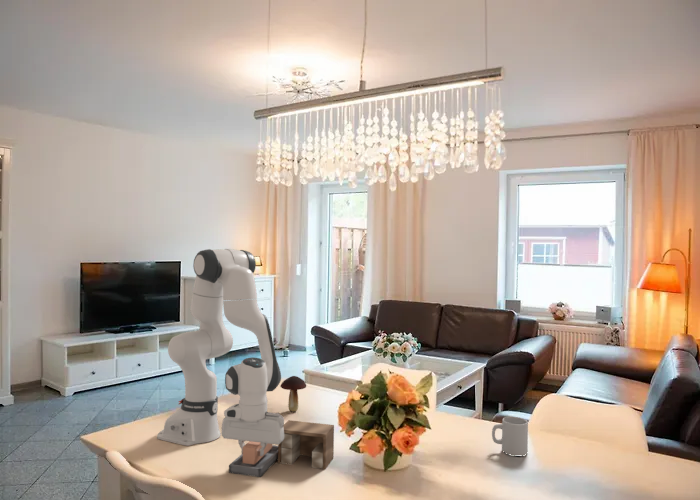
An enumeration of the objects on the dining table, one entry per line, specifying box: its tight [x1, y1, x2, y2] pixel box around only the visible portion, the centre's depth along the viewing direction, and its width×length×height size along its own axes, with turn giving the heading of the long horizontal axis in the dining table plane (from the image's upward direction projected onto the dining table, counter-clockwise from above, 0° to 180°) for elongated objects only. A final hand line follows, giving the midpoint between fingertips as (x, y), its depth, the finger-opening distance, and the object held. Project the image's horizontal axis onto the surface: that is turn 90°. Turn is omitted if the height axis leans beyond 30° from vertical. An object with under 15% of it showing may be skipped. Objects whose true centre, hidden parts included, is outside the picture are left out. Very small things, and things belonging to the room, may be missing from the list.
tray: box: [228, 444, 278, 478], centre depth 165 cm, size 11×19×2 cm, turn 166°
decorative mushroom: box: [280, 375, 307, 413], centre depth 218 cm, size 11×11×15 cm
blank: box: [243, 441, 273, 464], centre depth 166 cm, size 4×14×5 cm, turn 166°
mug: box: [491, 416, 529, 455], centre depth 178 cm, size 12×8×11 cm
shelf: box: [277, 419, 335, 470], centre depth 168 cm, size 16×9×11 cm, turn 76°
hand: (252, 454), depth 162 cm, fingers closed on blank, 4 cm apart
